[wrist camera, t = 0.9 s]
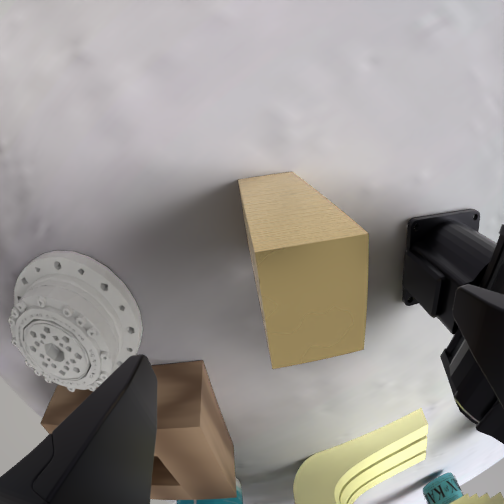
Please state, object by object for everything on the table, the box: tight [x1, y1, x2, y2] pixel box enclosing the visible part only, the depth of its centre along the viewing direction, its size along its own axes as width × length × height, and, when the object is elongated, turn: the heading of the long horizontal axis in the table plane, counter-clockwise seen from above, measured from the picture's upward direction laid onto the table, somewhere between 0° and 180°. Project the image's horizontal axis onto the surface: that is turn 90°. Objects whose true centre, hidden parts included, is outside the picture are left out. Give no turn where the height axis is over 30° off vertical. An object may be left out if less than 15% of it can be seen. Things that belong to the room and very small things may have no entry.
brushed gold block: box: [238, 172, 369, 369], centre depth 13 cm, size 3×4×10 cm
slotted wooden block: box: [41, 360, 237, 500], centre depth 21 cm, size 12×12×6 cm
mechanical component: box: [8, 251, 143, 392], centre depth 18 cm, size 10×4×10 cm
